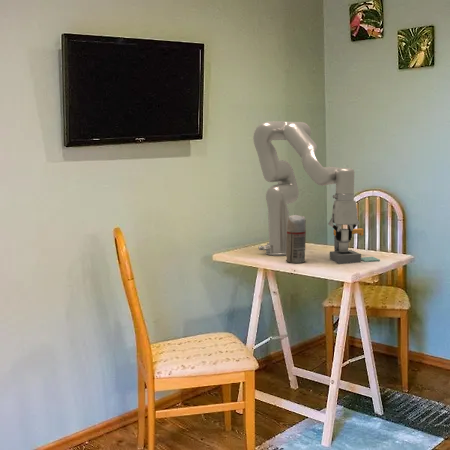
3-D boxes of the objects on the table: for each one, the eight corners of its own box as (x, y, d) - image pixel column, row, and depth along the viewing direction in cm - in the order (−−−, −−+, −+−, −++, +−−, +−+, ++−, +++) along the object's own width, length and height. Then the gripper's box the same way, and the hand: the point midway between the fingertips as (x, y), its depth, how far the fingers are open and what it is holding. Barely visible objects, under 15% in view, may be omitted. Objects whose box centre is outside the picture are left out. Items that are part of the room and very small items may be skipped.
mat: (364, 262, 281) (364, 260, 281) (357, 259, 287) (357, 257, 287) (380, 261, 282) (380, 259, 282) (372, 257, 289) (372, 256, 289)
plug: (340, 251, 281) (341, 230, 280) (335, 249, 286) (335, 228, 285) (351, 250, 283) (352, 229, 281) (346, 248, 288) (346, 228, 286)
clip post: (334, 258, 289) (334, 237, 288) (330, 256, 294) (330, 235, 293) (345, 258, 290) (345, 236, 289) (340, 256, 295) (340, 234, 294)
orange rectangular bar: (335, 237, 289) (335, 230, 288) (332, 236, 292) (332, 229, 292) (364, 235, 293) (364, 228, 292) (360, 234, 296) (360, 227, 296)
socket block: (338, 264, 279) (338, 255, 278) (329, 259, 288) (329, 251, 288) (361, 262, 281) (361, 254, 280) (351, 257, 290) (351, 250, 290)
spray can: (304, 259, 290) (304, 214, 287) (307, 263, 282) (306, 216, 279) (285, 260, 290) (284, 214, 287) (287, 263, 282) (286, 217, 279)
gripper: (329, 199, 275) (328, 242, 278) (366, 197, 279) (365, 240, 282) (322, 197, 282) (322, 239, 285) (359, 195, 286) (358, 237, 289)
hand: (343, 239), depth 284 cm, fingers closed on plug, 4 cm apart
